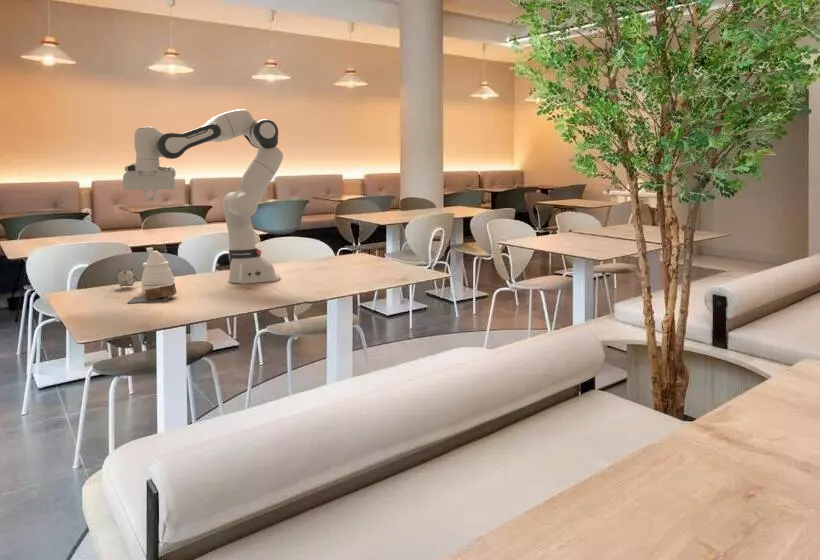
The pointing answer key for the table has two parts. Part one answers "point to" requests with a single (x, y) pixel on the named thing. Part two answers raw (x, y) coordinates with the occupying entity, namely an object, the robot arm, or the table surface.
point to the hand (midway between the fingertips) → (151, 201)
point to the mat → (144, 300)
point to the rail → (166, 298)
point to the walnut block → (160, 291)
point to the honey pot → (156, 271)
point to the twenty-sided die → (126, 278)
